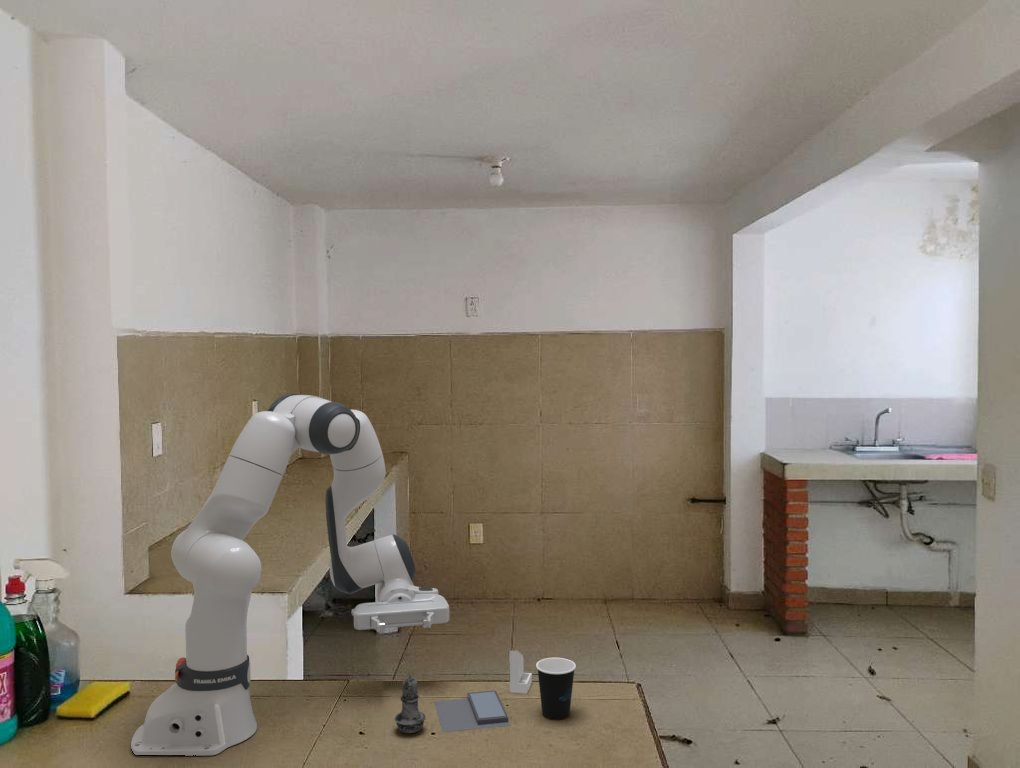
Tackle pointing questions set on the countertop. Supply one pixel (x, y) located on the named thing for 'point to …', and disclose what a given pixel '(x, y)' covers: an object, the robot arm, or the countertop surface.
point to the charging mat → (459, 716)
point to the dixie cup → (555, 686)
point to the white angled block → (518, 674)
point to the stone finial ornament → (410, 708)
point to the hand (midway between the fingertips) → (404, 626)
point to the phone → (487, 707)
